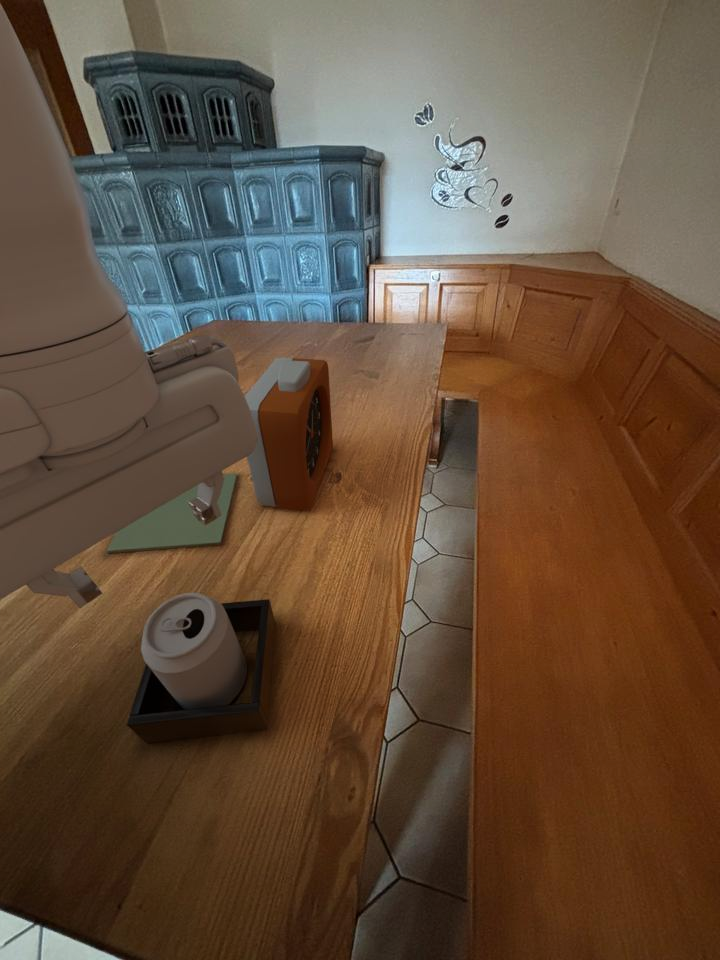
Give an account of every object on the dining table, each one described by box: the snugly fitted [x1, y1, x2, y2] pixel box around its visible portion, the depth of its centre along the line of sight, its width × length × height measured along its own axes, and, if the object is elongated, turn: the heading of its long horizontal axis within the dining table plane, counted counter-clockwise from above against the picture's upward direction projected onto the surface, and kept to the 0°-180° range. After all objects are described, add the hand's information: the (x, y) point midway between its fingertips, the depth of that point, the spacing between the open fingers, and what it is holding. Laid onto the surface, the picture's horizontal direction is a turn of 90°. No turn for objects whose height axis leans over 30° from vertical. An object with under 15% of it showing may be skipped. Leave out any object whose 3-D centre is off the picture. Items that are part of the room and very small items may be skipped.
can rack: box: [126, 598, 277, 744], centre depth 40 cm, size 12×12×5 cm
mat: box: [106, 473, 238, 554], centre depth 61 cm, size 16×16×1 cm
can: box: [140, 592, 248, 710], centre depth 38 cm, size 8×8×12 cm
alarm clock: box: [244, 356, 334, 511], centre depth 62 cm, size 18×9×21 cm, turn 171°
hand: (153, 553), depth 29 cm, fingers open, 8 cm apart
